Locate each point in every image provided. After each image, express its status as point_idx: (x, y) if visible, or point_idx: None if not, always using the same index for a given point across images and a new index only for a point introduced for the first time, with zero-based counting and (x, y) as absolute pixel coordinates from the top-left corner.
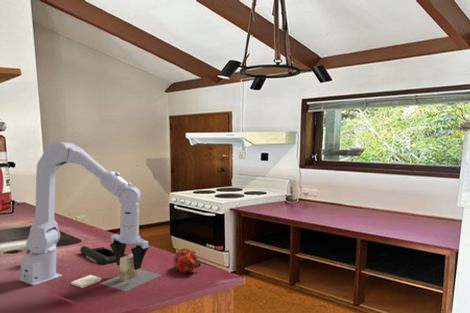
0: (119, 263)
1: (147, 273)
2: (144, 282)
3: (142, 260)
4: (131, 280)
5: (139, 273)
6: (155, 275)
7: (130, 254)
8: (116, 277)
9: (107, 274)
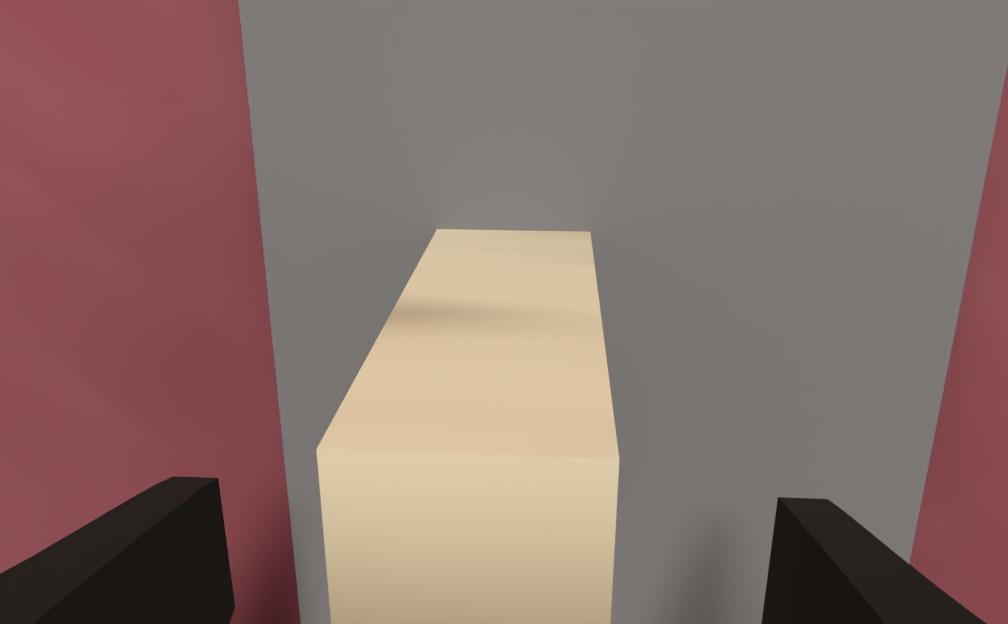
0: (220, 611)
1: (667, 30)
2: (924, 430)
3: (959, 608)
4: (645, 476)
5: (513, 132)
6: (909, 18)
7: (340, 615)
8: (318, 506)
9: (24, 421)
